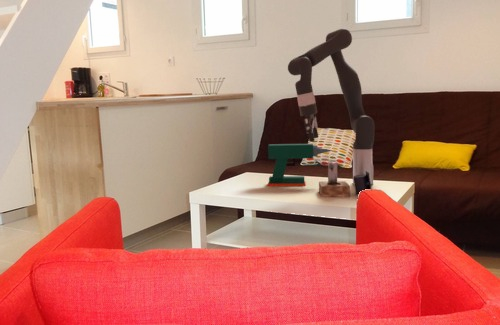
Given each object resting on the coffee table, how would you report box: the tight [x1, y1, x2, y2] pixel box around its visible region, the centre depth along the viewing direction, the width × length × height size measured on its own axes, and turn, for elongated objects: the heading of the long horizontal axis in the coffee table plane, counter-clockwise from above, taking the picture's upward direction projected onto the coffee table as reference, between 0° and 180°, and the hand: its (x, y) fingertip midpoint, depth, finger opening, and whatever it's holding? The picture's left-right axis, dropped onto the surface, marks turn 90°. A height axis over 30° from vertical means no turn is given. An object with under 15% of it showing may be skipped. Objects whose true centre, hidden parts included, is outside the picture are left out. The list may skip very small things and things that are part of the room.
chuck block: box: [318, 180, 351, 198], centre depth 205 cm, size 12×12×4 cm
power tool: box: [267, 143, 333, 187], centre depth 228 cm, size 32×7×20 cm, turn 84°
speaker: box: [352, 171, 372, 196], centre depth 202 cm, size 8×6×10 cm
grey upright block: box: [327, 161, 338, 185], centre depth 205 cm, size 7×4×13 cm, turn 159°
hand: (314, 139), depth 206 cm, fingers open, 8 cm apart
